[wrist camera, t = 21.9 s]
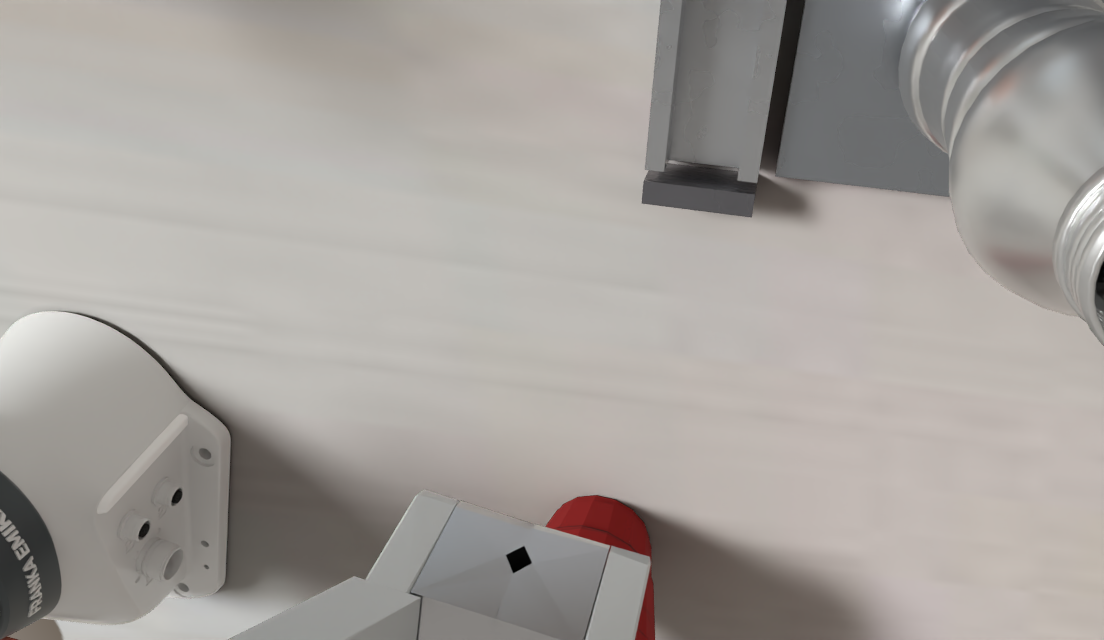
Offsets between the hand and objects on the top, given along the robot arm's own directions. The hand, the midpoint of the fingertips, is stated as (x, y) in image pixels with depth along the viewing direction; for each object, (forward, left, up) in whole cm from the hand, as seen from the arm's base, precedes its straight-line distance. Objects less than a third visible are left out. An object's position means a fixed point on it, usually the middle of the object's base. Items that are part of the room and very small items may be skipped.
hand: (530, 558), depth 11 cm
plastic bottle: (+2, -10, -28) cm, 29 cm away
